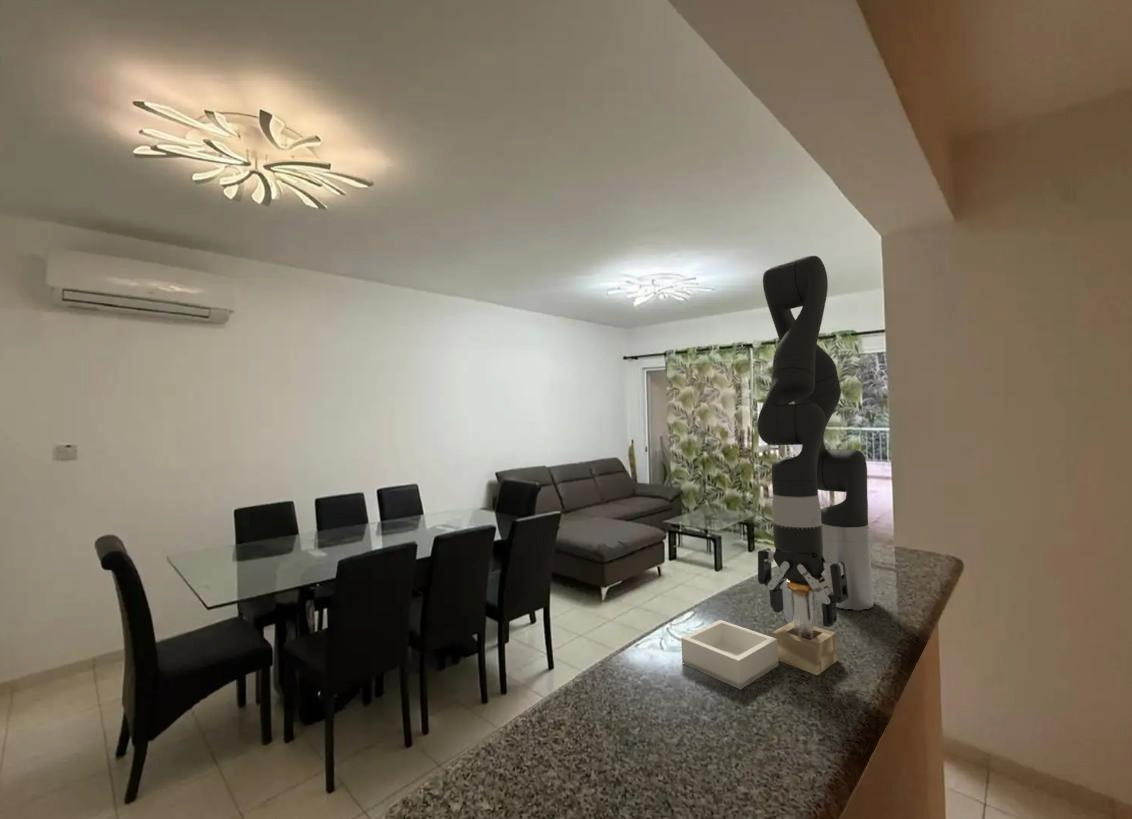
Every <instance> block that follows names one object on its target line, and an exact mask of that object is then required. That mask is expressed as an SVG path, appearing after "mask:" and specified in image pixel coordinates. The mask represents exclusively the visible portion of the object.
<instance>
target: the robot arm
mask: <svg viewBox="0 0 1132 819" xmlns="http://www.w3.org/2000/svg"><path fill="white" fill-rule="evenodd" d="M827 273H828V272H827V270H826V267H825V264H824V263H823V261H822V259H821V258H820V256H817V255H808V256H802V257H799V258H797V259H793V260H790V261H786V262H784V263H780V264H776V265H774V266H770V267H767V268H766V269H765V270H764V272H763V276H762V287H763V292H764V297H765V300H766V303H767V307H768V310H769V313H770V315H771V320H772V321H773V325H774V327H775V328H774V329H775V331H776V334H777V337H778V340H779V343H778V344H777V347H776V349H775V351H774V354H773V358H772V372H771V383H770V387H769V390H768V392H767V395H766V398H765V400H764V402H763V404H762V406H761V409H760V411H759V413H758V417H757V422H756V424H757V425H756V427H757V428H756V429H757V433H758V436H759V437H760V439H761V440H762V441H763V442H764V443H765V444H767V445H771V446H796V445H797V446H798V445H800V446H801V445H802V446H801V450H800V452H799V453H798V454H797V455H795V456H792V457H788V458H782V459H777V460H775V461H774V462H773V463H772V465H771V486H772V487H771V488H772V503H771V518H772V527H773V528H772V532H773V533H772V534H773V546H774V548H775V550H774V551H772V550H771V548H768V547H767V548H764V549H760V550H758V552H757V582H758V583H759V584H760V585H764V586H765V587H767V589H768V590H769V603H770V607H771V608H772V611H773V612H774V613H778V614H779V613H781V612H783V591H782V584H783V583H784V581H785V580H786V579H788V581H792V582H794V581H797V582H799V583H801V584H805V585H807V584H809V585H810V586H811V588H812V589H813V590H814V591H815V593H817V595H818V596H819V597H820V599H821V601H822V603H821V609H822V610H821V611H822V612H821V613H822V622H823V623H822V625H823V627H826V628H830V627H832V626H833V625H834V624H835V623H836V622H837V621H838V615H837V611H838V610H837V608H839V609H842V608H843V610H848V609H853V610H852V611H864V610H863V609H868V610H870V609H869V608H871V607H873V608H874V606H873V605H875V604H874V602H875V601H874V590H873V588H874V586H873V575H872V574H873V573H872V560H871V559H872V558H871V544H870V531H869V519H868V517H869V503H868V502H869V501H868V465H867V464H868V463H867V460H866V457H865V455H864V453H863V452H862V451H860V450H858V449H827V448H826V446H825V440H824V439H825V438H824V436H825V432H826V428H827V425H828V424H829V421H830V420H831V417H832V415H833V414H834V412H835V410H836V408H837V406H838V404H839V402H840V400H841V399H840V398H841V396H842V395H841V394H842V389H841V388H842V387H841V383H840V379H839V374H838V370H837V365H836V363H835V361H834V360H833V358H832V357H831V356H830V355H829V354H828V353H827V352H826V351H825V350H824V349H823V348H822V347H821V346H820V345H819V344H818V339H819V334H820V331H821V326H822V322H823V318H824V317H823V316H824V314H825V313H824V312H825V307H826V302H827V295H828V288H829V287H828V286H829V285H828V282H829V281H828V274H827ZM800 307H802V308H801V310H800V311H799V314H798V315H797V317H796V319H795V317H794V314H793V313H792V310H791V309H796V308H800ZM819 491H824V492H840V493H845V498H844V500H843V501H841V502H839V503H837V504H833V505H829V506H828V505H827V506H826V507H822V508H821V504H820V498H819ZM773 562H775V563H776V565H777V567H778V569H777V570H776V571H775V572H774V574H772V563H773ZM871 609H872V608H871Z"/></svg>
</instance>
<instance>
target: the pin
mask: <svg viewBox="0 0 1132 819" xmlns="http://www.w3.org/2000/svg"><path fill="white" fill-rule="evenodd" d="M787 587H788V588H789V589H791V590H792V603H793V619H794V635H795V636H799V637H802V638H805V639H808V640H812V639H814V625H813V609H812V593H811V592H812V591H814V590H813V589H812V588H811V586H810V585H809V584H807V585H805V584H801V583H799V582H797V581H794V582H792V581H788V579H787Z"/></svg>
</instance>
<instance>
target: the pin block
mask: <svg viewBox="0 0 1132 819" xmlns="http://www.w3.org/2000/svg"><path fill="white" fill-rule="evenodd" d="M772 637H773V638H776V639H777V645H778V661H779V662H781V663H784V664H786V665H788V666H791V667H794V668H796V669H799V670H802V671H805V672H808V673H810V674H813V675H816V676H818V675H820V674H822V673H823V672H824V671H826V670H827V669H828V668H830V667H831V666H832V665H834V664H836V663H837V662H838V661H839V656H838V655H839V654H838V653H839V652H838V639H837V638H838V637H837V632H835V631H830V630H827V629H824V628H821V627H819V626H818V627H815V626H814V639H812V640H808V639H805V638H802V637H799V636H795V635H794V621H792V622H790V623H786V624H785V625H783V626H782V627H779V628H778V629H776V630H774V631H772Z"/></svg>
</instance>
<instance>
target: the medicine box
mask: <svg viewBox="0 0 1132 819" xmlns="http://www.w3.org/2000/svg"><path fill="white" fill-rule="evenodd" d="M781 589H782V591H783V611H782V612H783V618H784V620H785V621H786V624H788V623H790V622H792V621H794V619H793V603H792V590H791V589H789V588H788V587H787V579H786V580H785V581H784V583H783V584H782V585H781ZM811 593H812V609H813V625H814V626H815V627H818V628H819V624H818V612H817V600H816V599H817V598H816V592H815V591H812V592H811Z"/></svg>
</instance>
